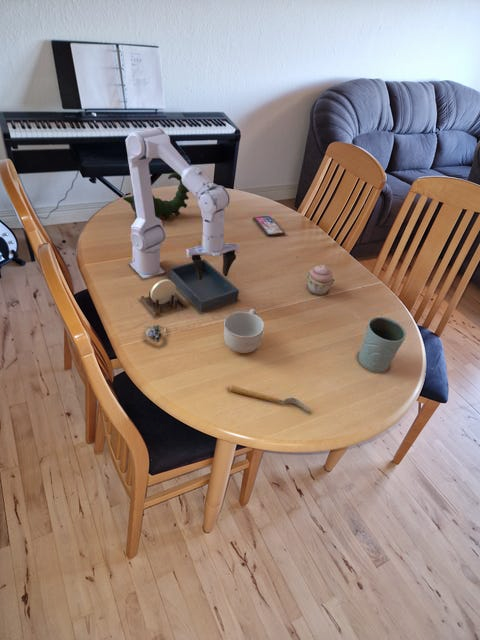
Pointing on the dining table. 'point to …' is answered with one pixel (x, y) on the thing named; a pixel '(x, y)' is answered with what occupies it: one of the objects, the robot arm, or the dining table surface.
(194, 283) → the dark blue tray
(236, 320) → the teacup
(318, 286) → the cupcake
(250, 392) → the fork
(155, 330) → the oyster shell
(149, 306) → the plate rack
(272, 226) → the smartphone
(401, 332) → the green cylindrical pot
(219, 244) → the robot arm
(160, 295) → the plate
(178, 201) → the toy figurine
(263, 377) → the dining table surface
